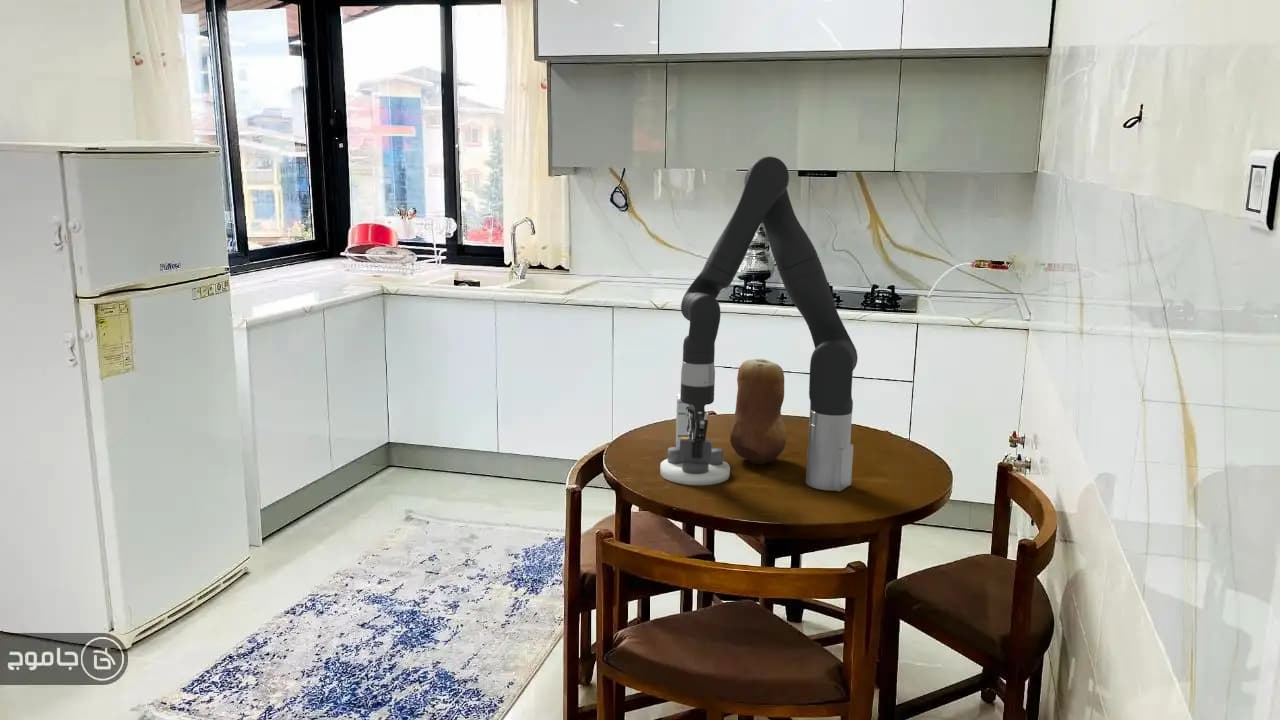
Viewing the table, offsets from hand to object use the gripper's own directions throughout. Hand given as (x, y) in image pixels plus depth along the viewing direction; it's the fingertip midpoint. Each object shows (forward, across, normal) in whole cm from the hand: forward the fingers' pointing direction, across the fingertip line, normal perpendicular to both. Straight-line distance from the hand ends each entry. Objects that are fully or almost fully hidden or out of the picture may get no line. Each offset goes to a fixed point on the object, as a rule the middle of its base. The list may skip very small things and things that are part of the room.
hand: (695, 455), depth 214 cm
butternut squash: (+6, +12, -18) cm, 22 cm away
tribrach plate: (+6, +4, -1) cm, 7 cm away
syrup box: (+6, +20, -2) cm, 21 cm away
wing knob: (+4, 0, 0) cm, 4 cm away
